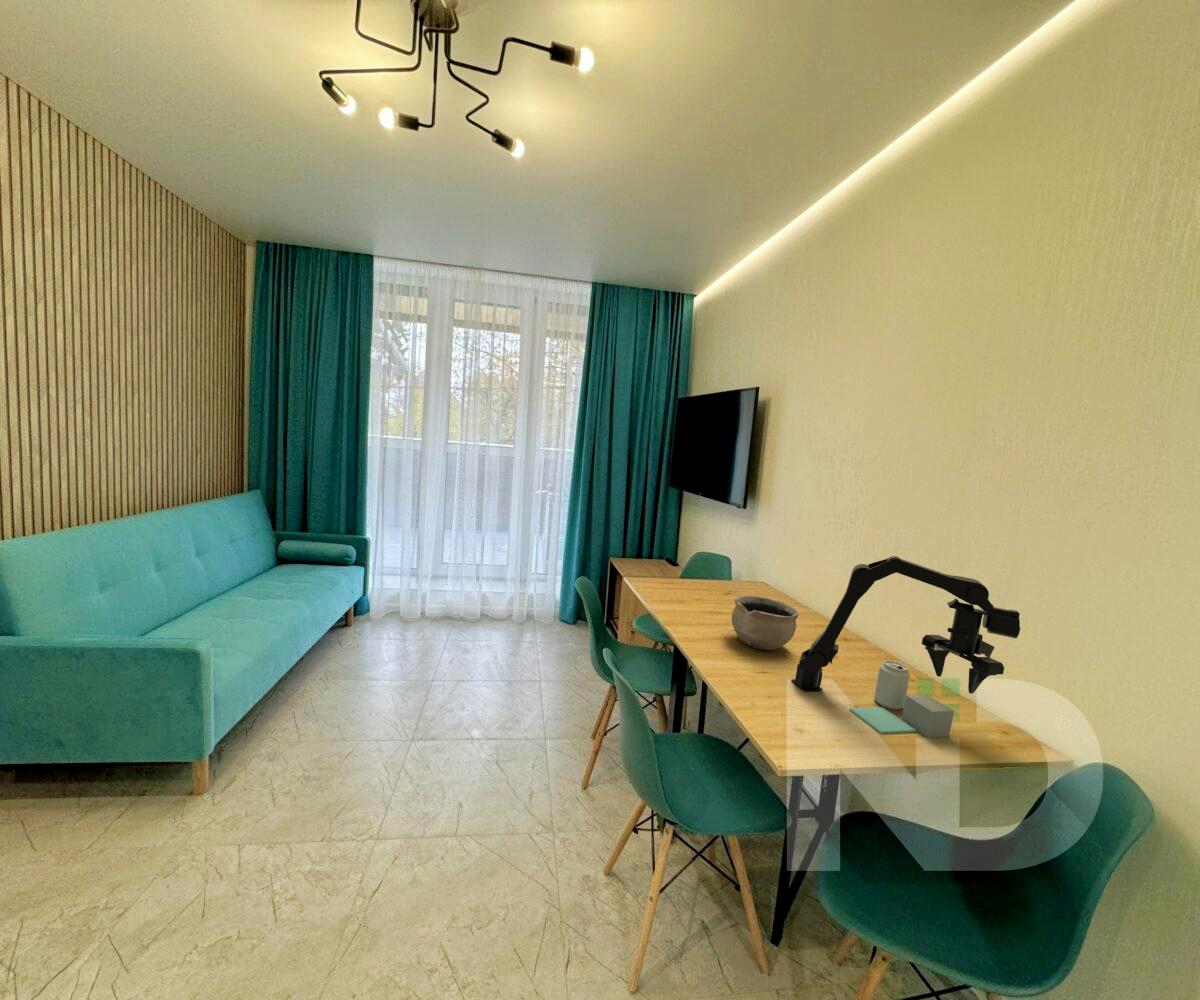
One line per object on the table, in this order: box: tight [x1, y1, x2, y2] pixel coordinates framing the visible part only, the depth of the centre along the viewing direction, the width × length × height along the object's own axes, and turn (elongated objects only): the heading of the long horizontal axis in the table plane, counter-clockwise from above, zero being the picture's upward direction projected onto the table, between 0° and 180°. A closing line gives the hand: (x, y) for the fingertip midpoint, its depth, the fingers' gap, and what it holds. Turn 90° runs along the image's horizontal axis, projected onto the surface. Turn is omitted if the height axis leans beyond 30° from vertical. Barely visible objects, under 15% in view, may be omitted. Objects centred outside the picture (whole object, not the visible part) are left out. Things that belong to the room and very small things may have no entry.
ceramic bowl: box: [731, 595, 800, 651], centre depth 179 cm, size 22×22×15 cm
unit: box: [901, 694, 955, 739], centre depth 133 cm, size 7×8×7 cm
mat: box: [849, 706, 917, 735], centre depth 134 cm, size 11×11×1 cm
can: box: [873, 659, 911, 711], centre depth 144 cm, size 8×8×12 cm
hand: (954, 684), depth 133 cm, fingers open, 9 cm apart
